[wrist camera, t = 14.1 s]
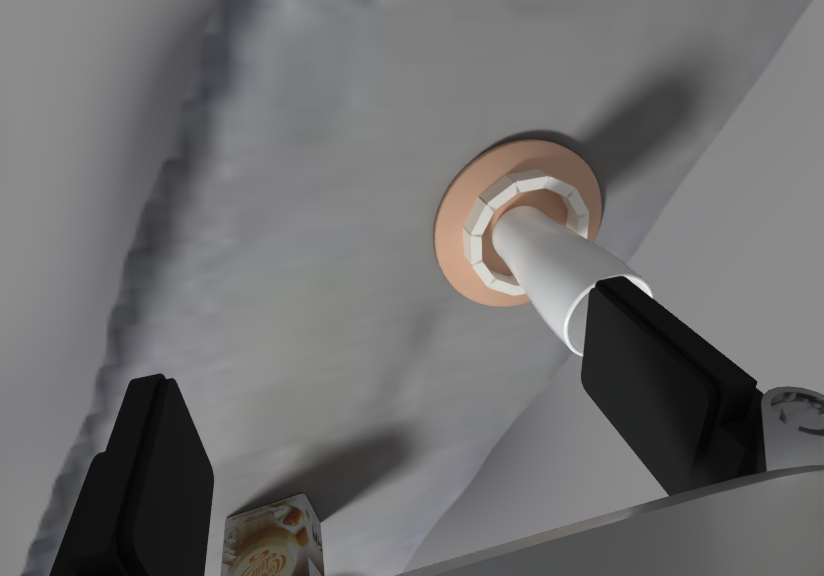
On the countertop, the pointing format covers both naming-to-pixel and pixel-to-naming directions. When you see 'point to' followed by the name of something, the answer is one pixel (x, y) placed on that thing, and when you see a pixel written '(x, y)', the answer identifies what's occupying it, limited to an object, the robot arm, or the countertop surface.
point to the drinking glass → (556, 269)
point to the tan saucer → (498, 193)
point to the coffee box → (274, 541)
